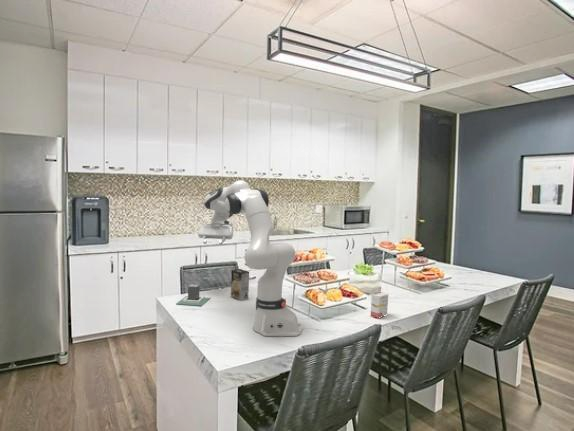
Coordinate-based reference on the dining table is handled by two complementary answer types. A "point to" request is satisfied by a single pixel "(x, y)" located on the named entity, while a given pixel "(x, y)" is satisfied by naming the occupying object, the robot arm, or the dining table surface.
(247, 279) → the coffee box
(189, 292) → the plug
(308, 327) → the dining table surface
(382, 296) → the ink cartridge box
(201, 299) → the board
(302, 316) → the dining table surface
